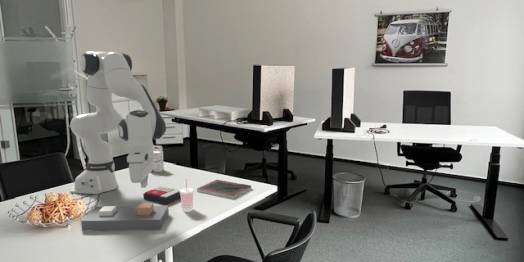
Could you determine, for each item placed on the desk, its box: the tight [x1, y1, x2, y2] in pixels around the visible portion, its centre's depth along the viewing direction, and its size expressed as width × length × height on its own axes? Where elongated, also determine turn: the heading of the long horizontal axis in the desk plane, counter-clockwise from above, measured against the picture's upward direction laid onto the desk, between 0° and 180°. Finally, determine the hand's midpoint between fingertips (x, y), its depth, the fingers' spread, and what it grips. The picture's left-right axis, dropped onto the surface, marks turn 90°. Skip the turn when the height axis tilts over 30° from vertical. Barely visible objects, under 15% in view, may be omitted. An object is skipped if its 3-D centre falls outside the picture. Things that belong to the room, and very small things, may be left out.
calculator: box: [143, 186, 181, 206], centre depth 176 cm, size 11×4×15 cm
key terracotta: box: [137, 202, 154, 216], centre depth 149 cm, size 5×5×4 cm
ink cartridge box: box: [151, 145, 165, 173], centre depth 219 cm, size 9×5×15 cm, turn 77°
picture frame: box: [196, 179, 252, 200], centre depth 186 cm, size 16×2×22 cm
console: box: [80, 205, 170, 232], centre depth 149 cm, size 30×14×4 cm, turn 91°
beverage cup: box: [178, 178, 195, 213], centre depth 161 cm, size 6×6×14 cm
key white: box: [99, 205, 117, 216], centre depth 149 cm, size 5×5×4 cm
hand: (144, 186), depth 147 cm, fingers closed
